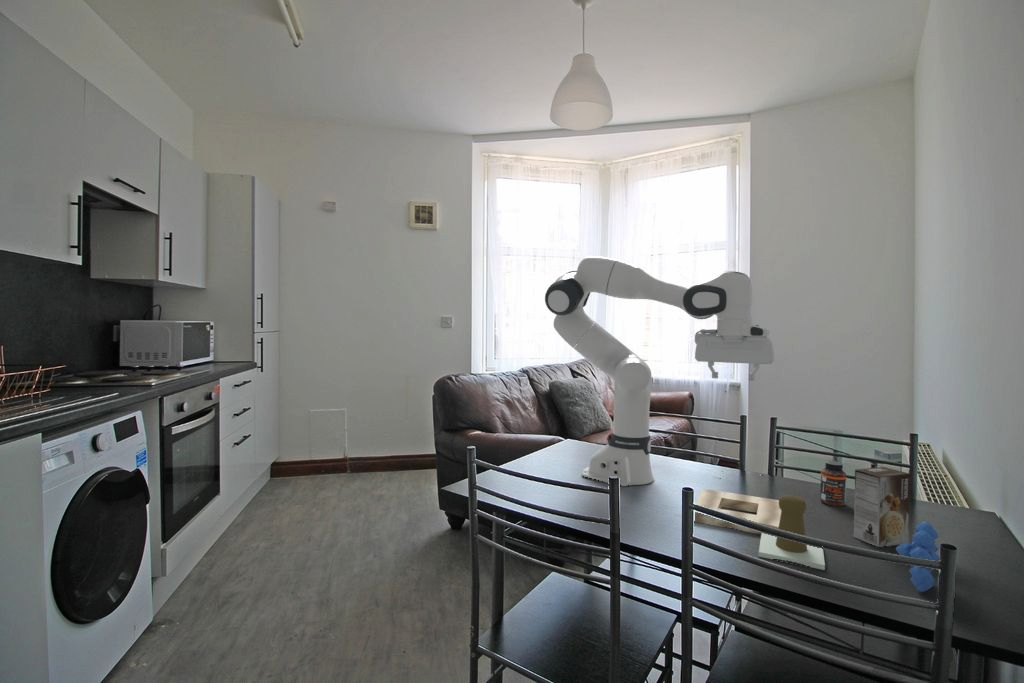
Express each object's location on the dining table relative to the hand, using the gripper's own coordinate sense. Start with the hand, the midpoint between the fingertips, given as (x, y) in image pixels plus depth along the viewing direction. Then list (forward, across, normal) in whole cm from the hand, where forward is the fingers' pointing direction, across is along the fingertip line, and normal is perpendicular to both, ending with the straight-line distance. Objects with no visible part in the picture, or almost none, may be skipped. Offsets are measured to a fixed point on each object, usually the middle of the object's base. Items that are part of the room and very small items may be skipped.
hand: (733, 379), depth 141 cm
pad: (+34, +15, -29) cm, 47 cm away
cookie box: (+34, +33, -12) cm, 49 cm away
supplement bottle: (+34, +25, +11) cm, 44 cm away
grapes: (+34, +36, -33) cm, 60 cm away
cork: (+33, +15, -29) cm, 46 cm away
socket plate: (+34, +3, -12) cm, 36 cm away
